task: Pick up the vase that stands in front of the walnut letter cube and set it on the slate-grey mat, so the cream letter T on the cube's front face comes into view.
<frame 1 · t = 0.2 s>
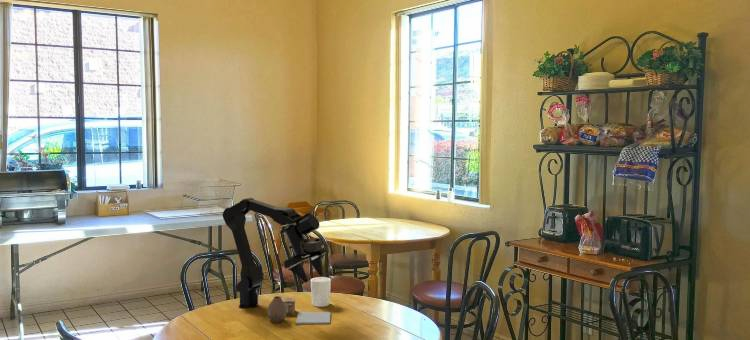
hand: (314, 278, 229), 14 cm above the table, tool tilted 30°, fingers open, 9 cm apart
letter cube: (287, 312, 237), on the table
vase: (277, 321, 226), on the table
white cup: (320, 305, 247), on the table
grey mat: (313, 318, 229), on the table
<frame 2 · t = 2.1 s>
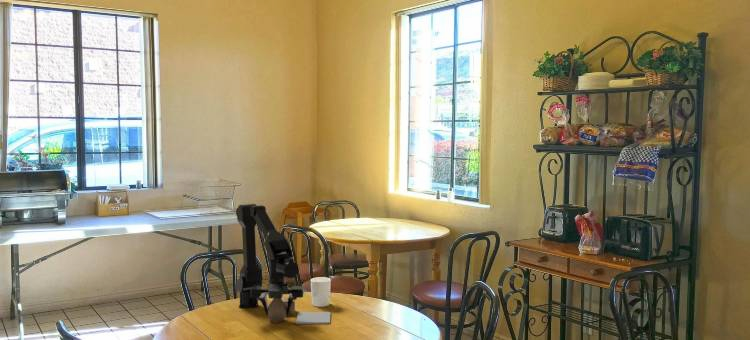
hand: (277, 315, 226), 2 cm above the table, tool pointing down, fingers closed on vase, 7 cm apart
vase: (277, 321, 226), on the table, touching gripper
everything else where it was.
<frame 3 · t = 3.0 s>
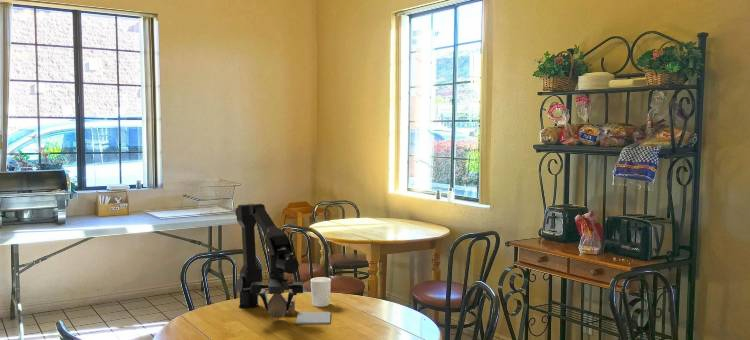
hand: (277, 310, 226), 4 cm above the table, tool pointing down, fingers closed on vase, 7 cm apart
vase: (277, 317, 226), point 1 cm above the table, touching gripper
everything else where it was.
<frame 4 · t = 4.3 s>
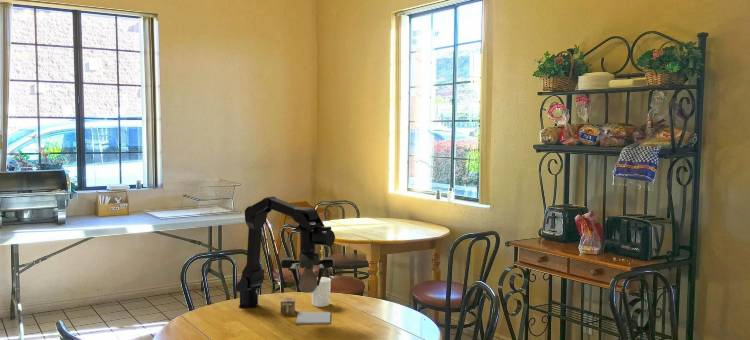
hand: (308, 286, 227), 12 cm above the table, tool pointing down, fingers closed on vase, 7 cm apart
vase: (308, 292, 227), point 10 cm above the table, touching gripper
everything else where it was.
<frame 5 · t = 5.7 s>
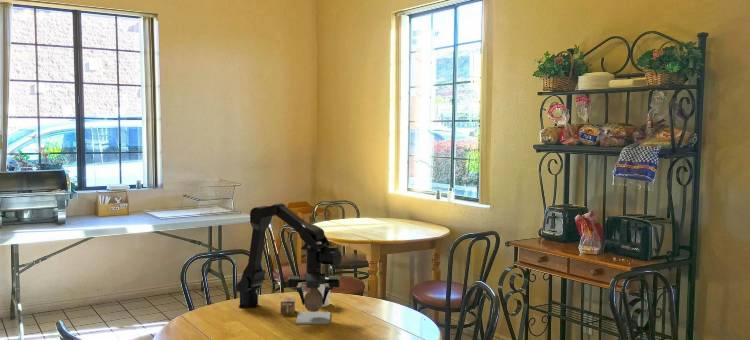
hand: (313, 304, 229), 5 cm above the table, tool pointing down, fingers closed on vase, 7 cm apart
vase: (313, 310, 229), point 3 cm above the table, touching gripper
everything else where it was.
when the fingers open (4 cm above the table, at t = 6.5 s): vase drops 1 cm, resting on grey mat.
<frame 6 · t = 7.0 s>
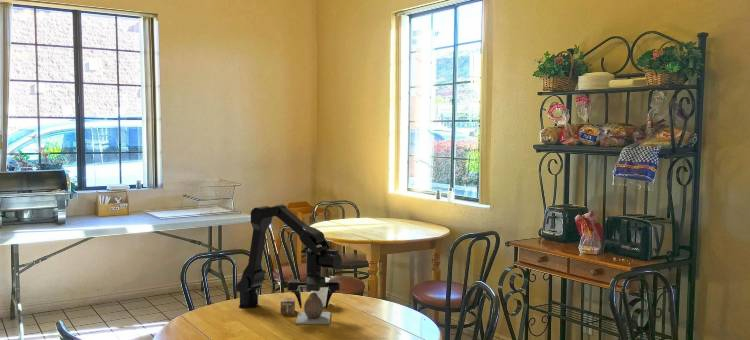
hand: (313, 308, 229), 4 cm above the table, tool pointing down, fingers open, 9 cm apart
vase: (313, 317, 229), resting on grey mat
everything else where it was.
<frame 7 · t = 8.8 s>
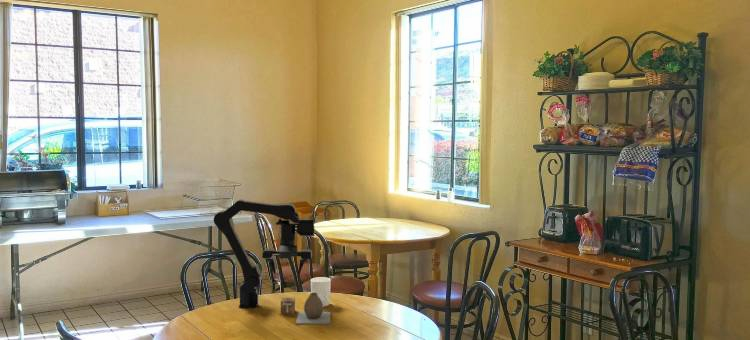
hand: (287, 275, 245), 12 cm above the table, tool pointing down, fingers open, 9 cm apart
nothing on the table moved.
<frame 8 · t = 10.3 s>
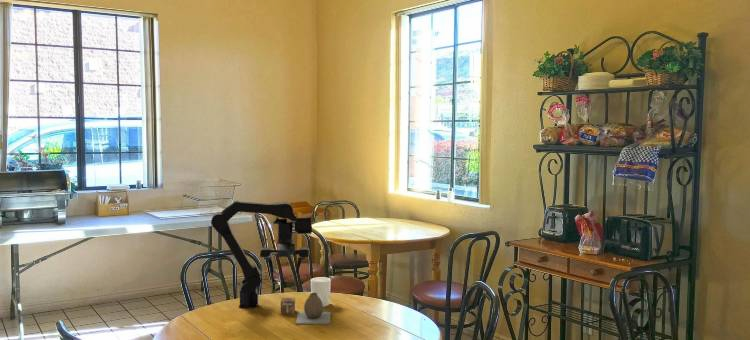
hand: (285, 273, 246), 12 cm above the table, tool pointing down, fingers open, 9 cm apart
nothing on the table moved.
at the end: vase inside the target area on the grey mat (0.0 cm from its centre), point 0.4 cm above the grey mat's base; vase tilted 0°; letter cube moved 0.1 cm from its start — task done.
